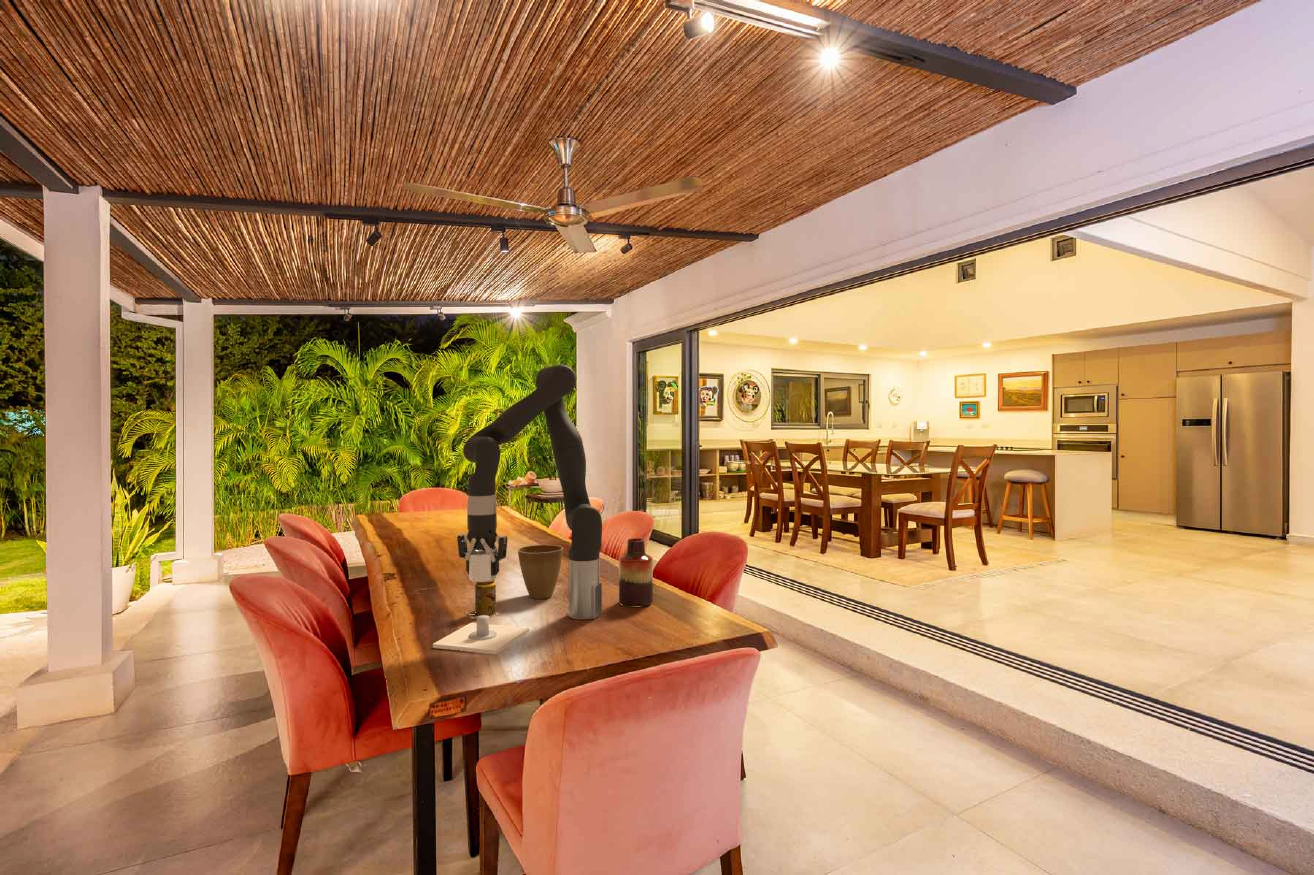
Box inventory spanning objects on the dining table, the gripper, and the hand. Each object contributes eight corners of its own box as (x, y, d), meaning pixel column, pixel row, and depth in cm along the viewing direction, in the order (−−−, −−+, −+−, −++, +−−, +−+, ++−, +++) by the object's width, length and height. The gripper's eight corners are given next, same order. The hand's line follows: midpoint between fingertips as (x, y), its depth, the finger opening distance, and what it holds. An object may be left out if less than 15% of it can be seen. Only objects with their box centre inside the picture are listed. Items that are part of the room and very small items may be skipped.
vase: (659, 601, 204) (659, 538, 204) (640, 609, 195) (640, 544, 194) (631, 596, 210) (631, 535, 209) (612, 604, 201) (612, 540, 200)
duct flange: (529, 631, 174) (529, 610, 174) (495, 654, 157) (495, 630, 156) (471, 626, 179) (471, 605, 179) (432, 647, 161) (432, 624, 161)
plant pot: (569, 591, 216) (569, 545, 215) (552, 603, 201) (552, 553, 201) (529, 589, 219) (529, 543, 219) (509, 600, 205) (509, 551, 204)
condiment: (500, 615, 189) (500, 575, 189) (472, 619, 185) (472, 579, 184) (492, 609, 195) (492, 570, 195) (464, 613, 191) (464, 574, 190)
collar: (499, 576, 170) (499, 550, 169) (486, 582, 163) (486, 555, 163) (478, 575, 171) (478, 549, 171) (465, 581, 165) (464, 554, 165)
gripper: (513, 511, 169) (513, 573, 169) (466, 509, 173) (466, 569, 173) (499, 514, 161) (499, 579, 162) (450, 512, 165) (450, 576, 166)
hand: (482, 574), depth 167 cm, fingers closed on collar, 6 cm apart
